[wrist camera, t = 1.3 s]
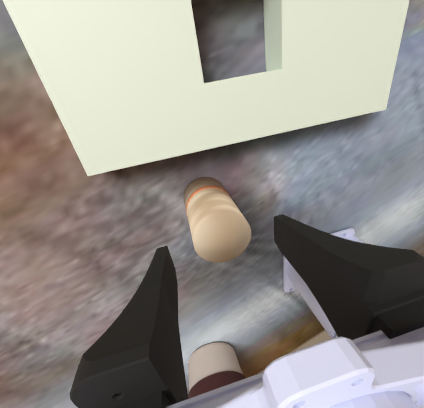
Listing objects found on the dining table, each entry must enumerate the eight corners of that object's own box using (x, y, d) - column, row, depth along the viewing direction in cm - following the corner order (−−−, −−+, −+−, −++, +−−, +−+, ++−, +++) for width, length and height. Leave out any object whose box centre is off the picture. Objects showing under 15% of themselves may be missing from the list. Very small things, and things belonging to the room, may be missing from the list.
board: (400, -140, 13) (449, -188, 11) (360, 108, 19) (385, 109, 17) (-26, -107, 10) (-76, -163, 8) (97, 166, 17) (87, 176, 15)
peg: (221, 172, 19) (249, 206, 13) (227, 209, 21) (253, 253, 15) (178, 182, 19) (187, 222, 13) (188, 219, 21) (199, 269, 15)
